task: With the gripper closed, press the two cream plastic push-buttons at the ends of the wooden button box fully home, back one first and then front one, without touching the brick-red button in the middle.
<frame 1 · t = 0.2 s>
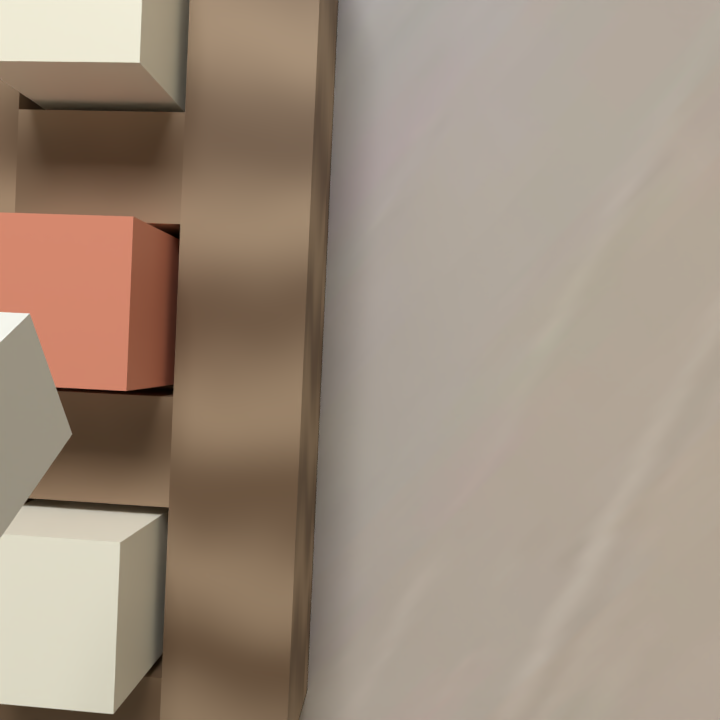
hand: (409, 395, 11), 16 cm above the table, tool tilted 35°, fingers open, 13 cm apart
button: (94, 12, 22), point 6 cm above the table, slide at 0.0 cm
wooden button box: (149, 315, 28), on the table
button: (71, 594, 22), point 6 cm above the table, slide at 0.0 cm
button middle: (82, 305, 22), point 6 cm above the table, slide at 0.0 cm
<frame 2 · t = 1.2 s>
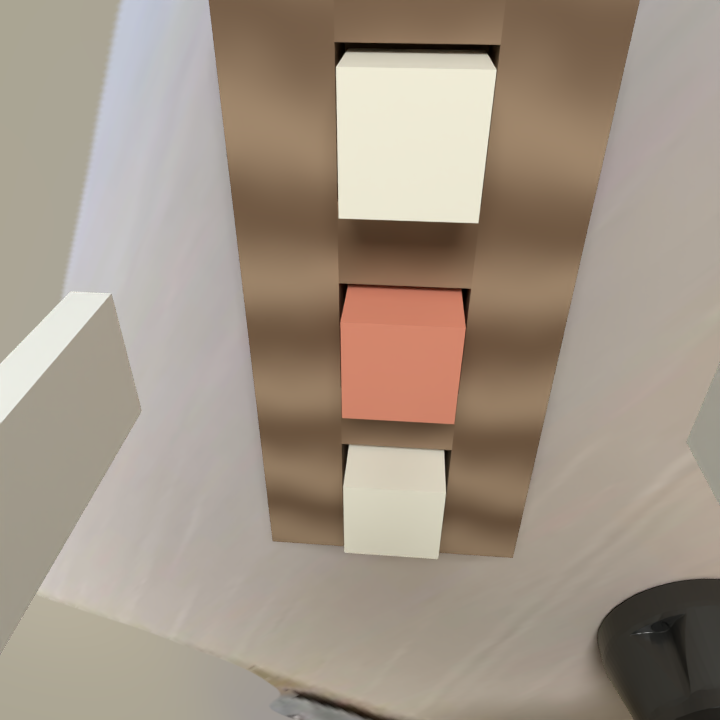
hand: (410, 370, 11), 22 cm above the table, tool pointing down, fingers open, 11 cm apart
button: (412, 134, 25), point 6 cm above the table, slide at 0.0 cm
wooden button box: (403, 294, 35), on the table
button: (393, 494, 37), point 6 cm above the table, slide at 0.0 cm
button middle: (401, 349, 31), point 6 cm above the table, slide at 0.0 cm
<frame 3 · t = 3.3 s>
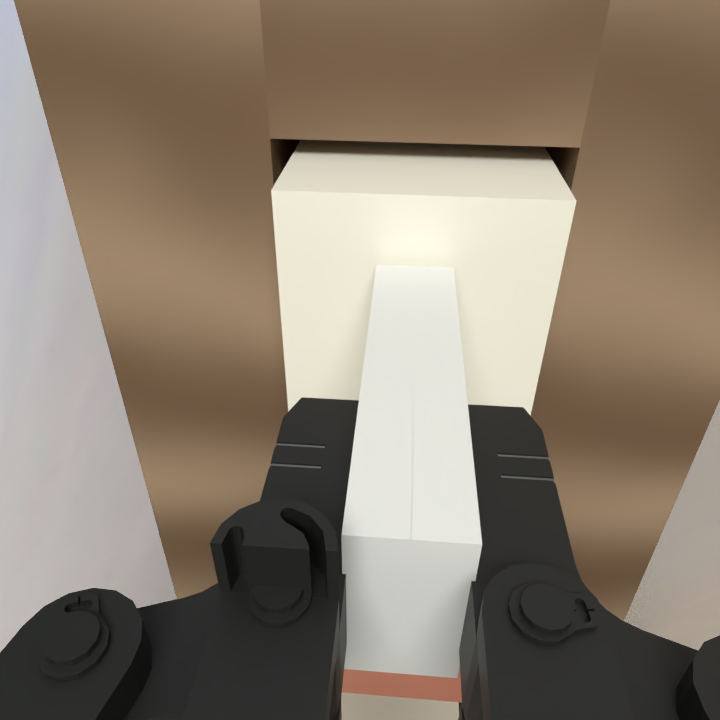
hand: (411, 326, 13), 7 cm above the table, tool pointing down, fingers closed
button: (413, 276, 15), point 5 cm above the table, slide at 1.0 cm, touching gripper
wooden button box: (400, 458, 25), on the table
button middle: (395, 581, 20), point 6 cm above the table, slide at 0.0 cm
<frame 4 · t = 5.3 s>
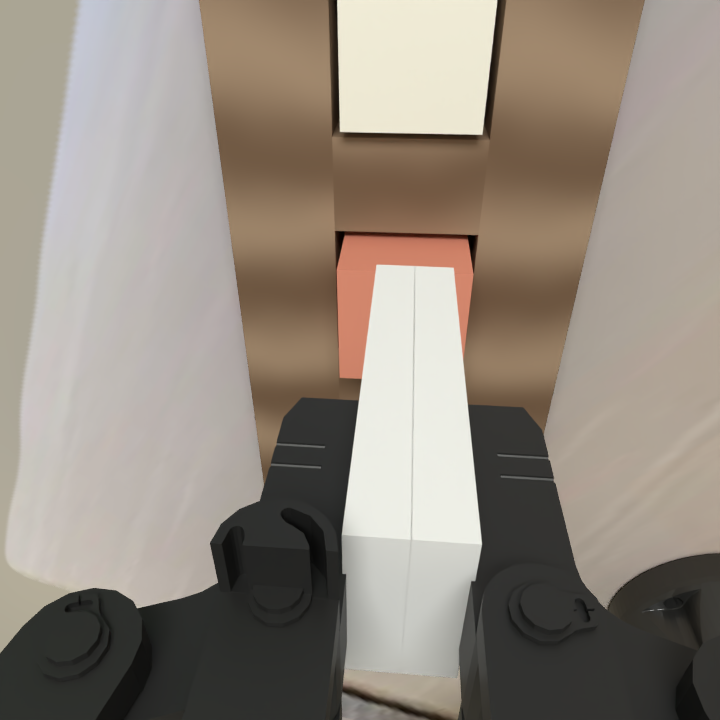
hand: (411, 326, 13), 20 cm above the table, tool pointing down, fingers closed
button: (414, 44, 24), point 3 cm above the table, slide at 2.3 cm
wooden button box: (404, 249, 33), on the table
button middle: (402, 303, 29), point 6 cm above the table, slide at 0.0 cm
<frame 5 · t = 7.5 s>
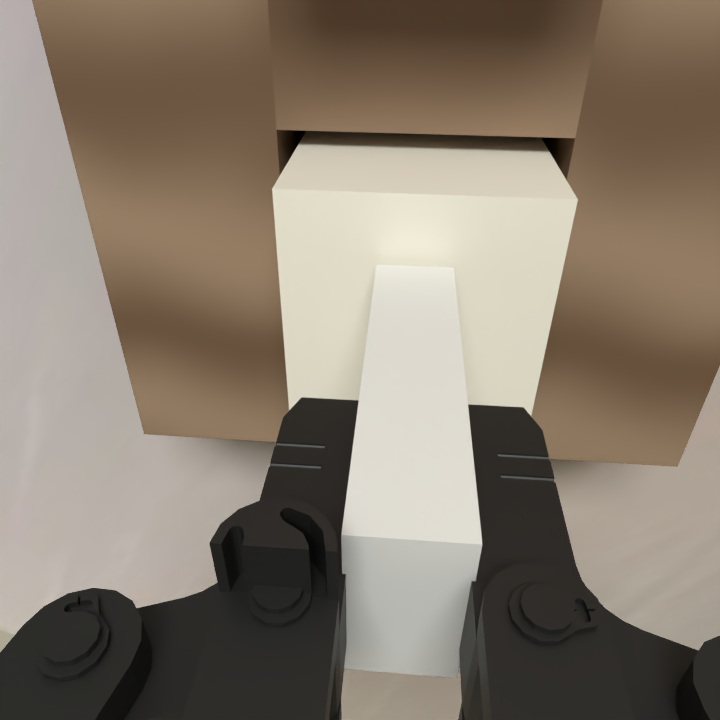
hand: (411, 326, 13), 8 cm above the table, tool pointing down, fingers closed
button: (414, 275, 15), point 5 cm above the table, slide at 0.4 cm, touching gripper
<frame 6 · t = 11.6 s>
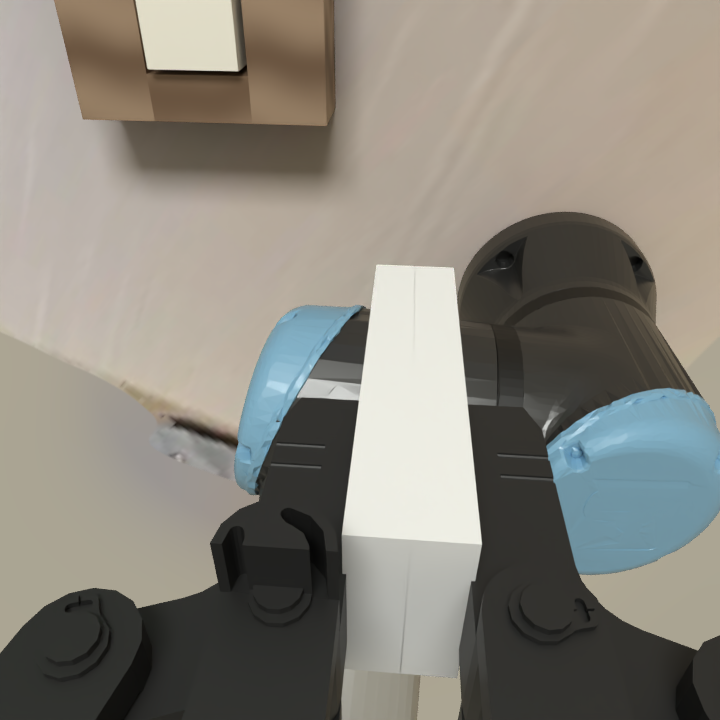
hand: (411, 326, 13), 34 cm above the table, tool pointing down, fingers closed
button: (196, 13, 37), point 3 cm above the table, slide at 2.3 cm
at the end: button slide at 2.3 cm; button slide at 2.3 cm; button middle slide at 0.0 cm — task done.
